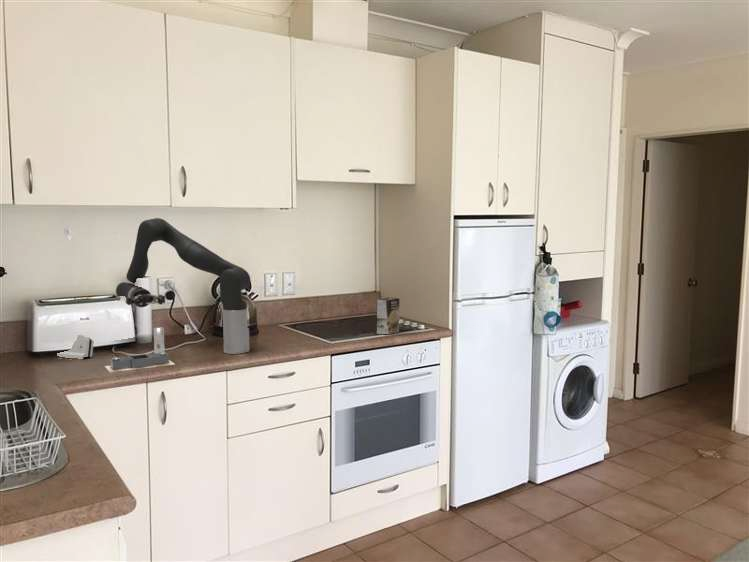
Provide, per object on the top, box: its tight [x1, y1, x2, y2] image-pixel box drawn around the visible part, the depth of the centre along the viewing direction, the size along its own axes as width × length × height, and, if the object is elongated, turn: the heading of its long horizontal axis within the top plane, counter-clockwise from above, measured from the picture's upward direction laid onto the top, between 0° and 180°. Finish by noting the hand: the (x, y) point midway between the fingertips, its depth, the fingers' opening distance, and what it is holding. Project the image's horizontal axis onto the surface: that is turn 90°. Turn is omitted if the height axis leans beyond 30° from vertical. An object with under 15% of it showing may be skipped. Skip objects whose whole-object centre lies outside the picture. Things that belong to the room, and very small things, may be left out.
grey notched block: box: [109, 351, 170, 370], centre depth 228 cm, size 19×7×4 cm, turn 123°
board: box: [104, 359, 176, 373], centre depth 228 cm, size 22×10×1 cm, turn 123°
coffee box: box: [376, 297, 400, 335], centre depth 295 cm, size 9×6×16 cm
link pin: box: [153, 326, 166, 354], centre depth 240 cm, size 4×4×12 cm
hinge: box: [57, 334, 94, 360], centre depth 244 cm, size 17×5×10 cm, turn 71°
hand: (150, 302), depth 247 cm, fingers open, 8 cm apart
